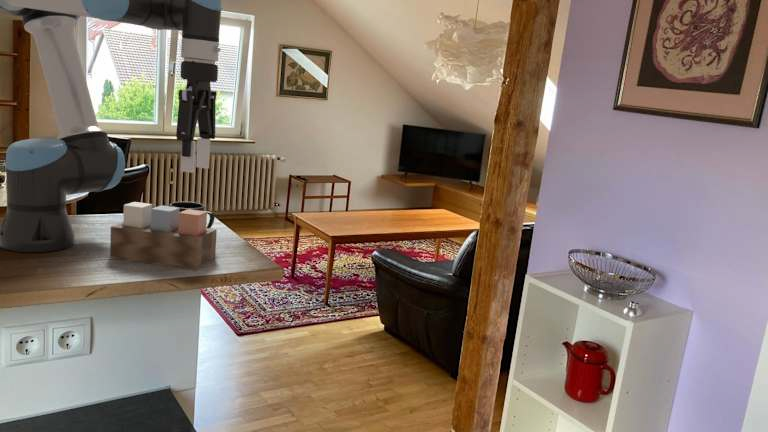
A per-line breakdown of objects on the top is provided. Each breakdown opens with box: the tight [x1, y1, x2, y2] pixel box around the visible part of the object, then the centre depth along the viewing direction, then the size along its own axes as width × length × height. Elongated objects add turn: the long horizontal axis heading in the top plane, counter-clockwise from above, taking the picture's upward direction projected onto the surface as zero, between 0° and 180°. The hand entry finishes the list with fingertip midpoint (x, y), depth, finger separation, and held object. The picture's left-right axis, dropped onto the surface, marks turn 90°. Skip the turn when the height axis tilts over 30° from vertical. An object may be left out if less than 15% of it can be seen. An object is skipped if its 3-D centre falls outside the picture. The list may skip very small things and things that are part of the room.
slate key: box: [151, 205, 180, 232], centre depth 141 cm, size 4×4×7 cm
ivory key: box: [122, 201, 153, 228], centre depth 142 cm, size 4×4×7 cm
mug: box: [169, 201, 216, 229], centre depth 155 cm, size 8×12×10 cm
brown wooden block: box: [109, 221, 217, 271], centre depth 142 cm, size 20×10×7 cm, turn 82°
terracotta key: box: [179, 209, 208, 236], centre depth 140 cm, size 4×4×7 cm
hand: (195, 169), depth 138 cm, fingers open, 7 cm apart
